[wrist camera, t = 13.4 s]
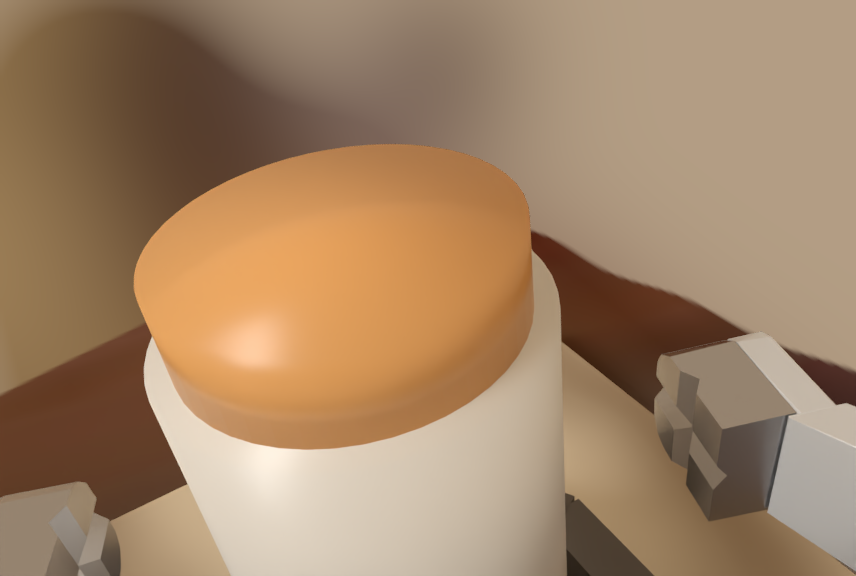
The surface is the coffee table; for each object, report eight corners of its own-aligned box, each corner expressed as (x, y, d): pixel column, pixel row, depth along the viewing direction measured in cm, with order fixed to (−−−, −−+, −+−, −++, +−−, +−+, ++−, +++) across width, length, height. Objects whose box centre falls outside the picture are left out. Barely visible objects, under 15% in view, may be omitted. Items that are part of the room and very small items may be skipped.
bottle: (392, 932, 12) (166, 471, 5) (282, 675, 16) (72, 221, 9) (625, 748, 14) (662, 236, 7) (477, 556, 17) (415, 106, 11)
